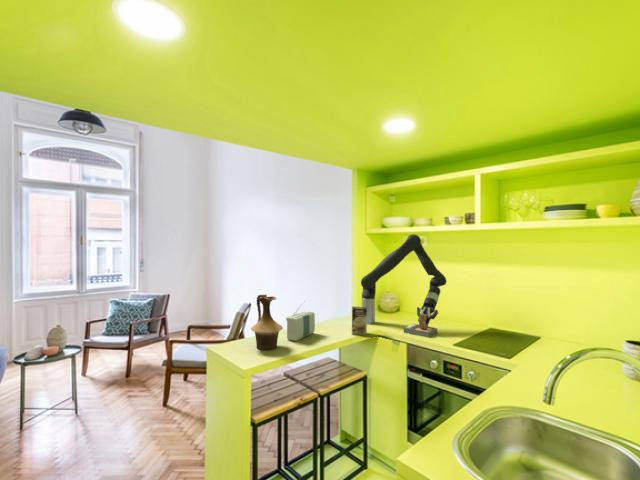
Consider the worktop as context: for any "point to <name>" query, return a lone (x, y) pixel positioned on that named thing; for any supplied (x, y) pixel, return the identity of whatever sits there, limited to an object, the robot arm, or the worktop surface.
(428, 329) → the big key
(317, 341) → the worktop surface
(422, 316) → the reddish brown block
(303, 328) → the stereo radio cassette player
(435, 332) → the keypad
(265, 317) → the pitcher
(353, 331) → the coffee box
